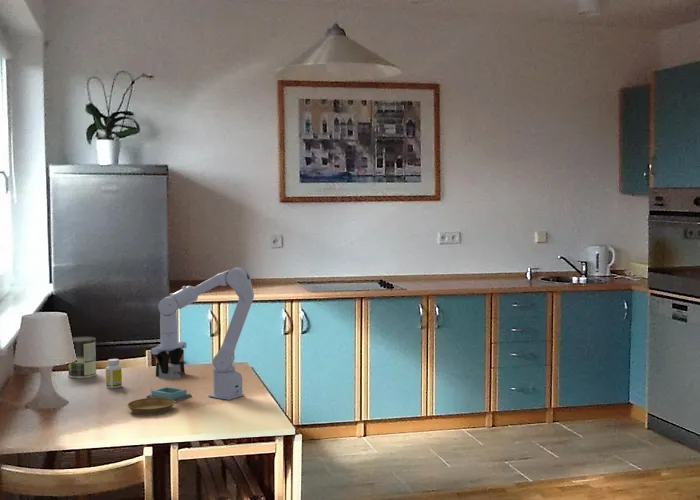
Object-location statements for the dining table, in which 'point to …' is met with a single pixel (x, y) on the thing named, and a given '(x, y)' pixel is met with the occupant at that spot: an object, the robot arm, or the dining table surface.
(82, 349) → the coffee can
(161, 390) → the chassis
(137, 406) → the plant saucer
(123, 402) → the dining table surface
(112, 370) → the supplement bottle
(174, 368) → the block
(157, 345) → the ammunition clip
